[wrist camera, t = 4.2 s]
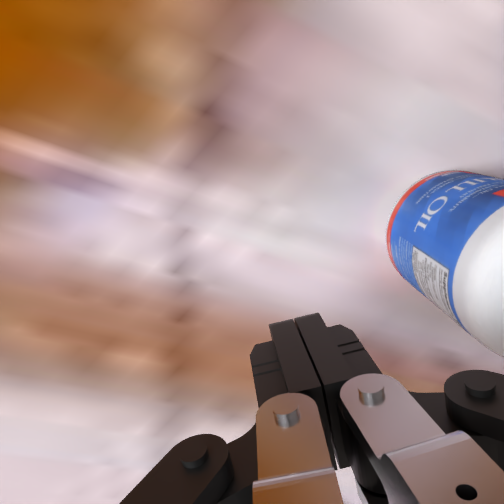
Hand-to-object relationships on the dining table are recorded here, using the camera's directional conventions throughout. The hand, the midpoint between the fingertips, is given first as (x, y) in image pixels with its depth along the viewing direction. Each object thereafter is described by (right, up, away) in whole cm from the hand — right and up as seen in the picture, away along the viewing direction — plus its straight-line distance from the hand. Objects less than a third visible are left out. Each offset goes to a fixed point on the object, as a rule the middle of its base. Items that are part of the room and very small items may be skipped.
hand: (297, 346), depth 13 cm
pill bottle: (+7, +4, +7) cm, 11 cm away
